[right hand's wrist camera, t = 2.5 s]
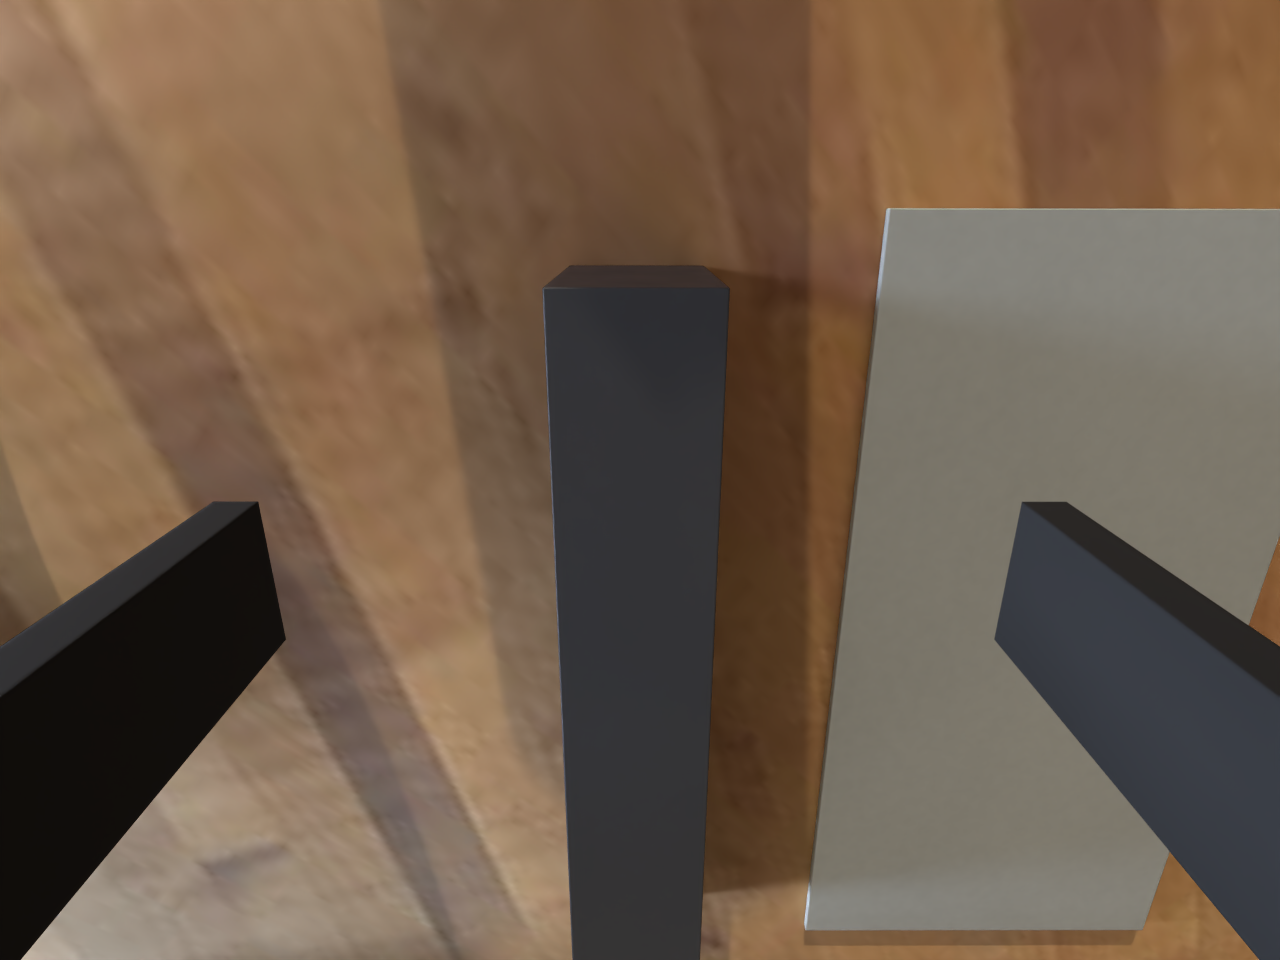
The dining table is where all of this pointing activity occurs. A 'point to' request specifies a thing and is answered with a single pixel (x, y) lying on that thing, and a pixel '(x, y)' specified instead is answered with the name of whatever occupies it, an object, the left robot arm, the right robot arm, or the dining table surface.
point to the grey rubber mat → (985, 530)
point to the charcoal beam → (636, 592)
